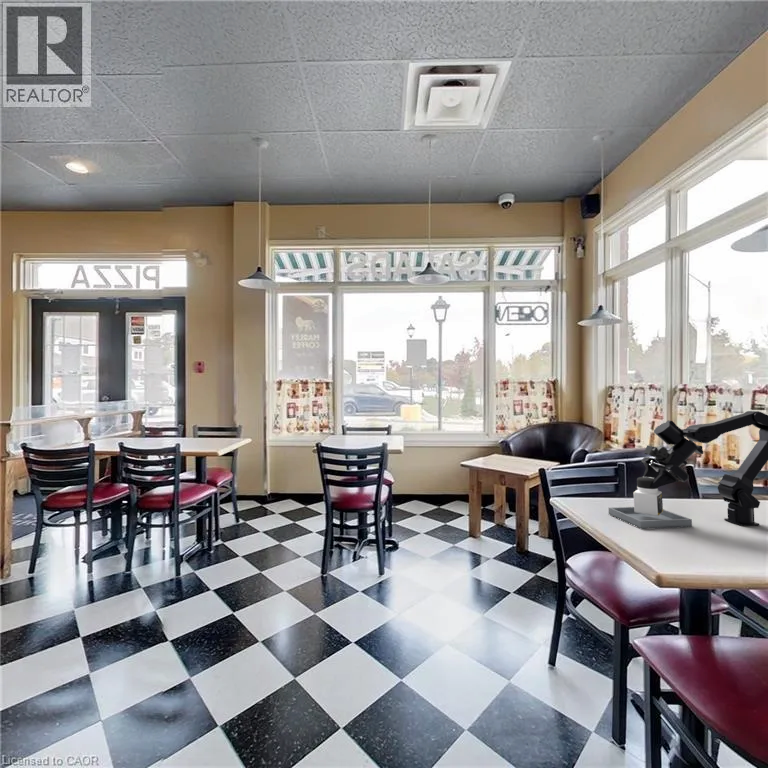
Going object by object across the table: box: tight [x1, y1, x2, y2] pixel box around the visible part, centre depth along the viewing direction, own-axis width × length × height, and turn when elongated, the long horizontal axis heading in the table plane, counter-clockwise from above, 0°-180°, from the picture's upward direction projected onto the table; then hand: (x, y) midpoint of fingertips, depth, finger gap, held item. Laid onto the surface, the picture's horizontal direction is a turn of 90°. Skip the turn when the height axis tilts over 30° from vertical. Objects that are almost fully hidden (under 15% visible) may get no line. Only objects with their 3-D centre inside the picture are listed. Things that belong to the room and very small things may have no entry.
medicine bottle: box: [632, 476, 664, 516], centre depth 135 cm, size 7×7×12 cm
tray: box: [608, 506, 693, 529], centre depth 135 cm, size 18×16×2 cm
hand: (646, 485), depth 135 cm, fingers closed on medicine bottle, 6 cm apart
